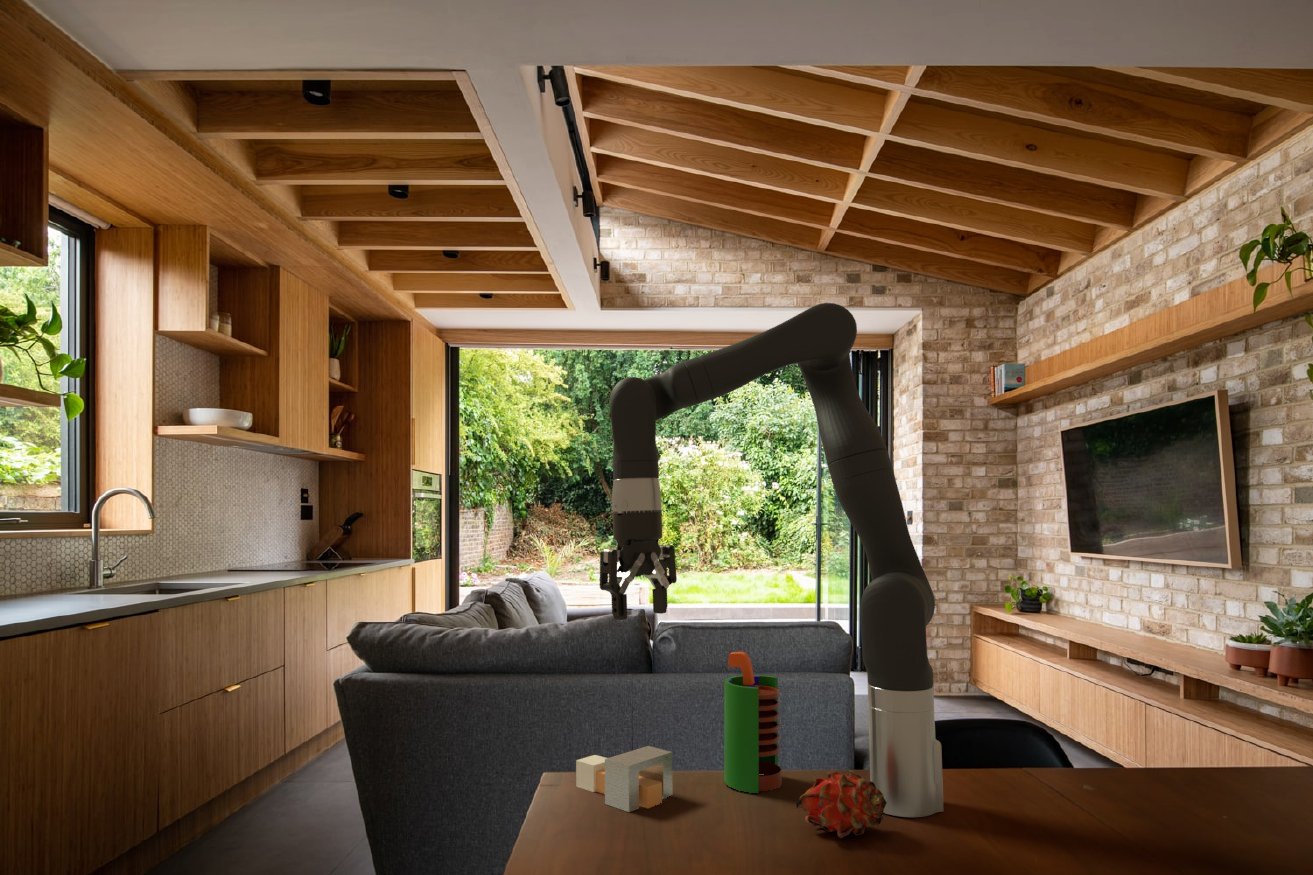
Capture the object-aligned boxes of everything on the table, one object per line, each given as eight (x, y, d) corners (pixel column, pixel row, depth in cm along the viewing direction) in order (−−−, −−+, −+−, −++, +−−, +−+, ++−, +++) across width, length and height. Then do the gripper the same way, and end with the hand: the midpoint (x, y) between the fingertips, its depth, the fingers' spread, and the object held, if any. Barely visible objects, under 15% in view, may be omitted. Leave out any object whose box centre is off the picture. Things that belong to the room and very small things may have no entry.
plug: (664, 802, 125) (664, 774, 126) (645, 809, 122) (645, 780, 123) (595, 780, 136) (595, 754, 136) (576, 786, 133) (576, 760, 133)
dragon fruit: (896, 850, 111) (803, 858, 113) (884, 793, 118) (798, 801, 120) (889, 809, 107) (794, 818, 109) (878, 753, 114) (789, 762, 116)
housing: (672, 795, 128) (672, 751, 128) (629, 812, 121) (628, 765, 122) (648, 788, 131) (648, 745, 132) (604, 803, 125) (604, 758, 125)
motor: (779, 795, 128) (777, 659, 129) (720, 792, 129) (718, 658, 131) (783, 774, 138) (781, 648, 139) (728, 771, 139) (726, 647, 141)
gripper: (651, 509, 138) (654, 610, 137) (585, 510, 128) (588, 620, 126) (686, 507, 133) (690, 612, 132) (620, 508, 123) (624, 623, 121)
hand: (640, 616), depth 129 cm, fingers open, 8 cm apart
